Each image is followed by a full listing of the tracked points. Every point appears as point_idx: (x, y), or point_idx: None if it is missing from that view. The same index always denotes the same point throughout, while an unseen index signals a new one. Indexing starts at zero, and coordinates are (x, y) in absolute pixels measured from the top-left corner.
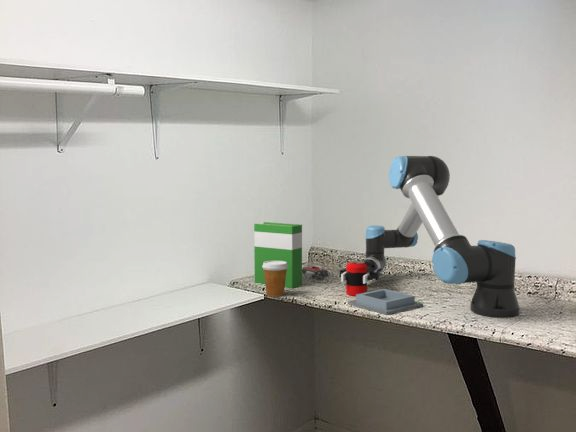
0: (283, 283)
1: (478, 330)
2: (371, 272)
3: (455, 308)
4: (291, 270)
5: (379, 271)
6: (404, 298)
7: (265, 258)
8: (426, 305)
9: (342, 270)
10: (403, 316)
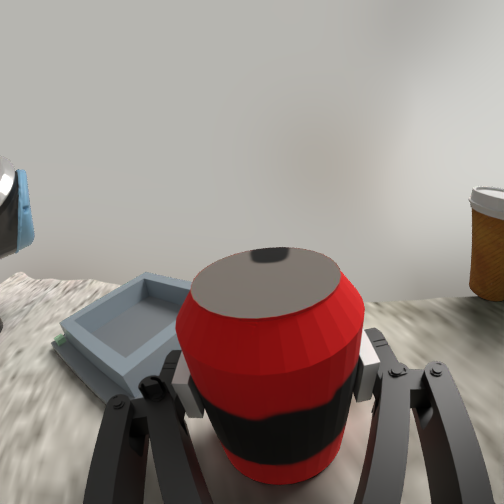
0: (475, 255)
1: (51, 279)
2: (155, 381)
3: (7, 348)
4: None
5: (88, 491)
6: (93, 302)
7: None
8: (43, 358)
9: (431, 377)
10: None
